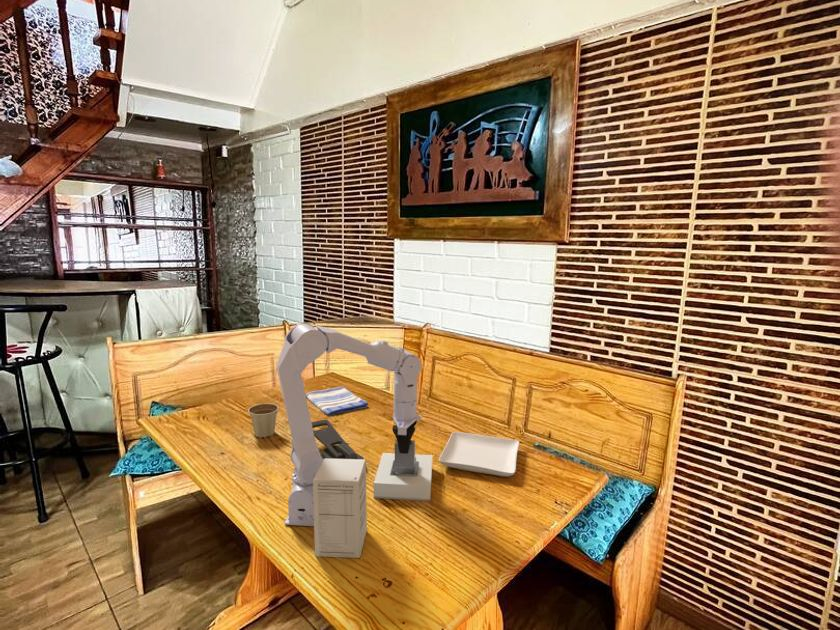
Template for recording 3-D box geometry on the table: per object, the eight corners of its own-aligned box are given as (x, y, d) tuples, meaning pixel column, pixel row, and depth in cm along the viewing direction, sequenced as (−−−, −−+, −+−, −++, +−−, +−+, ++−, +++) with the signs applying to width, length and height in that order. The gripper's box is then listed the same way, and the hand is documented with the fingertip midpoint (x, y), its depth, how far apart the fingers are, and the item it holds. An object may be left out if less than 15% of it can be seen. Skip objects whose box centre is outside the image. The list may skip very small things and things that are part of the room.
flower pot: (280, 437, 143) (280, 412, 142) (249, 442, 140) (248, 415, 138) (278, 426, 152) (277, 402, 150) (248, 430, 148) (247, 405, 147)
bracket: (414, 474, 114) (414, 444, 112) (394, 473, 114) (394, 444, 113) (416, 462, 120) (416, 434, 118) (397, 462, 120) (397, 434, 118)
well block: (430, 501, 110) (430, 486, 109) (373, 498, 111) (373, 483, 110) (432, 468, 126) (432, 455, 125) (382, 466, 127) (382, 452, 126)
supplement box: (367, 529, 99) (368, 458, 96) (360, 559, 90) (360, 481, 87) (324, 528, 99) (323, 456, 96) (313, 557, 90) (311, 479, 87)
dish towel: (344, 391, 190) (344, 384, 189) (370, 408, 171) (370, 401, 170) (304, 398, 180) (304, 391, 180) (327, 417, 161) (326, 410, 161)
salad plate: (519, 449, 139) (519, 439, 139) (514, 484, 119) (515, 472, 119) (452, 440, 145) (452, 430, 144) (437, 472, 125) (437, 460, 124)
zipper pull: (328, 417, 143) (369, 446, 124) (328, 437, 144) (369, 469, 125) (301, 424, 138) (340, 455, 118) (301, 444, 139) (340, 478, 120)
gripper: (419, 410, 104) (418, 464, 107) (423, 389, 119) (421, 438, 121) (389, 409, 105) (388, 463, 107) (396, 388, 119) (395, 436, 121)
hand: (404, 449), depth 114 cm, fingers closed on bracket, 2 cm apart
